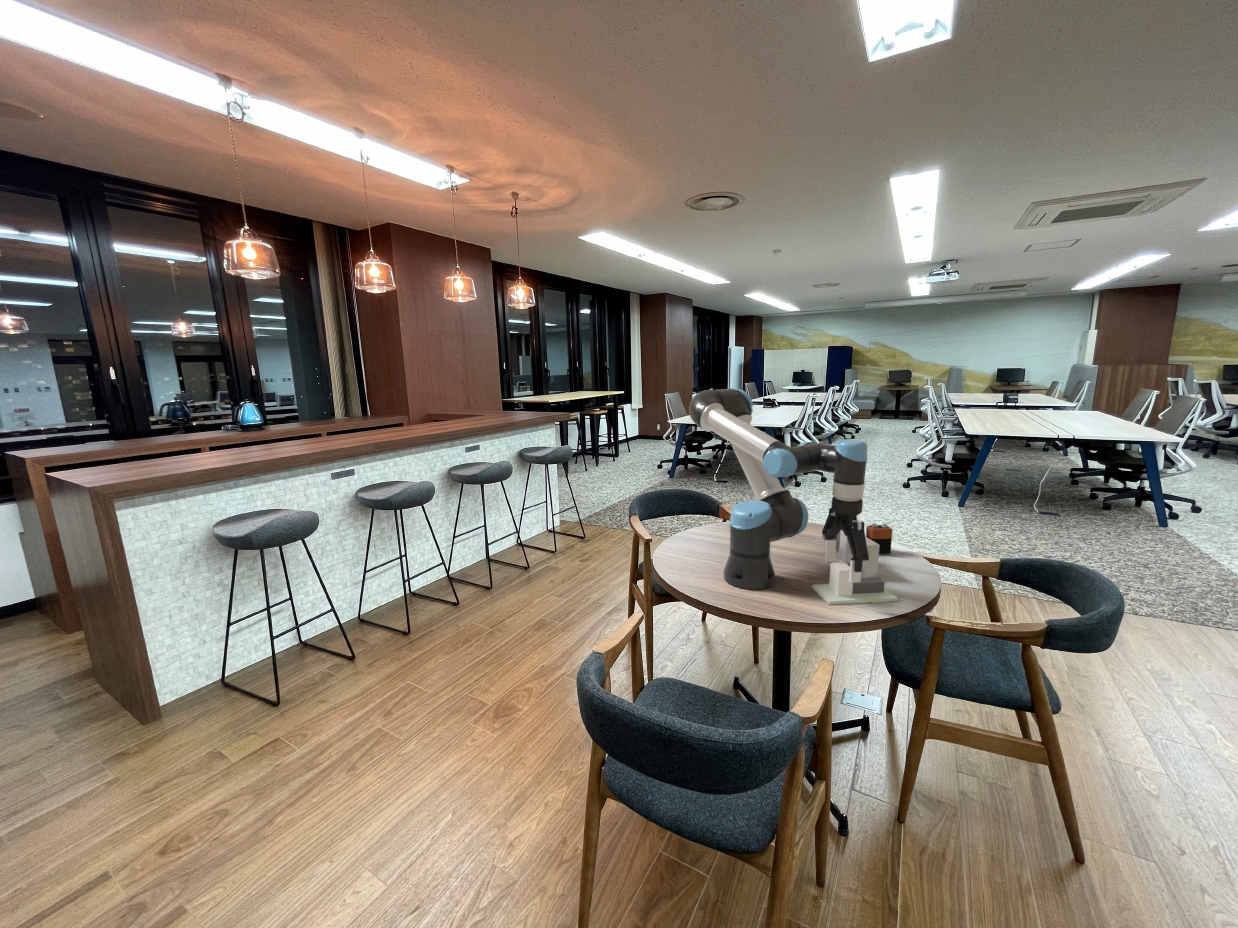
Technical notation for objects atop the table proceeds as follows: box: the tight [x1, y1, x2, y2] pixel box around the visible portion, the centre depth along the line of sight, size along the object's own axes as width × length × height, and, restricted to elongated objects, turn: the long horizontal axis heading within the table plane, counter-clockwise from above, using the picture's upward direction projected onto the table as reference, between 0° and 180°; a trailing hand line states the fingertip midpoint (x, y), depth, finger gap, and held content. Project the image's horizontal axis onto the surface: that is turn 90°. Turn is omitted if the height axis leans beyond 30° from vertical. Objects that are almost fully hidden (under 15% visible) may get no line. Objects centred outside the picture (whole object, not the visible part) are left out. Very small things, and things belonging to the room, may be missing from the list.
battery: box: [865, 523, 893, 555], centre depth 161 cm, size 4×7×10 cm, turn 89°
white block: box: [828, 562, 885, 596], centre depth 131 cm, size 14×5×8 cm, turn 92°
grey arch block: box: [838, 530, 880, 578], centre depth 148 cm, size 4×15×10 cm, turn 3°
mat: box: [811, 583, 899, 605], centre depth 132 cm, size 19×10×1 cm, turn 93°
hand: (841, 571), depth 131 cm, fingers open, 13 cm apart
